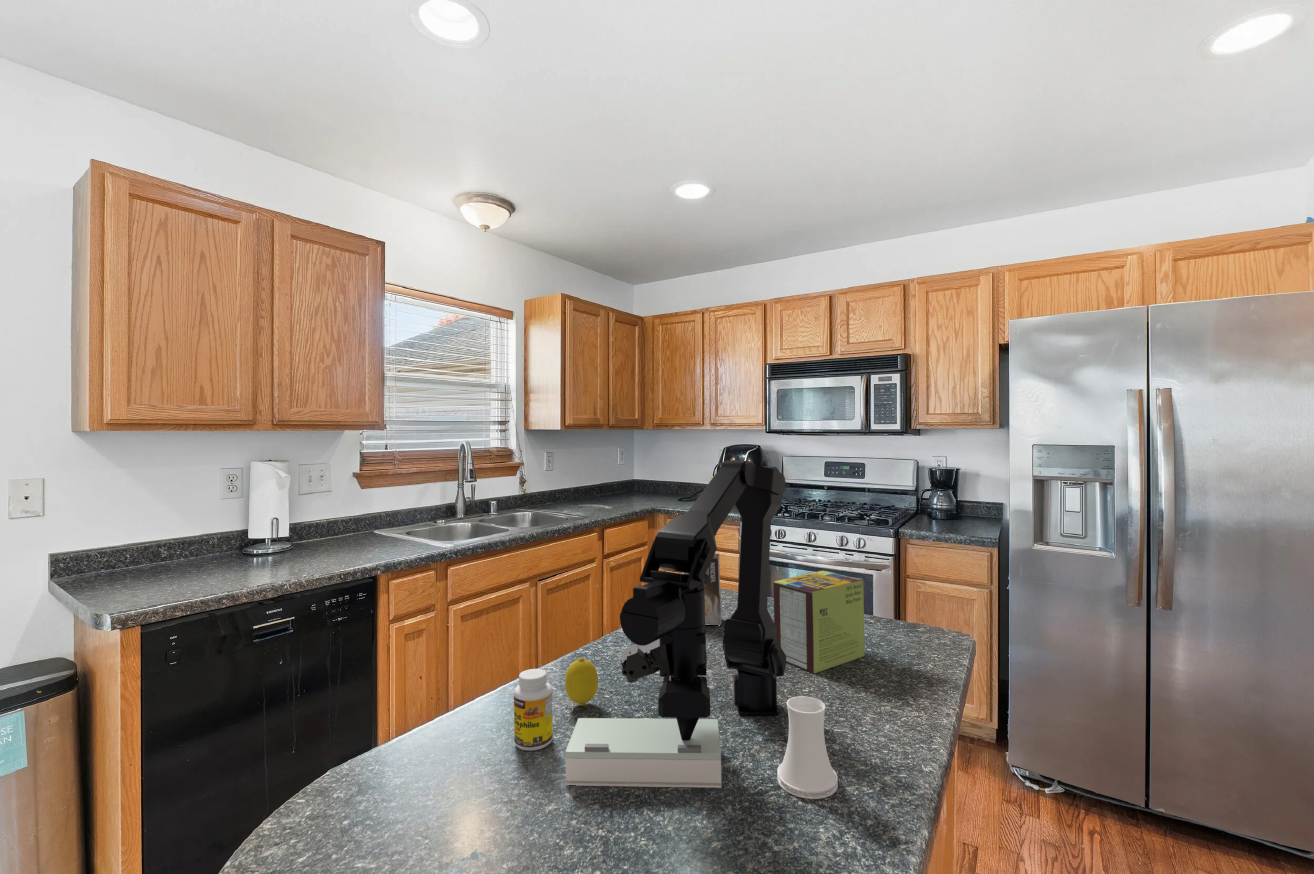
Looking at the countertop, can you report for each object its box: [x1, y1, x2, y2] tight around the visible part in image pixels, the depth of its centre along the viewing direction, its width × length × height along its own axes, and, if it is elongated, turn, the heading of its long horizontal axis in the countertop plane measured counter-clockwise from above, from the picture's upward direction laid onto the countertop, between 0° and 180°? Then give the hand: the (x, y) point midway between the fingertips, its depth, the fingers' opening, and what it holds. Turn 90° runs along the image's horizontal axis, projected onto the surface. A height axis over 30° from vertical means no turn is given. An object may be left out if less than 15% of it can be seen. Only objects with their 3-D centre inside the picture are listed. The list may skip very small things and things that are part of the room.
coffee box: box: [680, 553, 722, 625], centre depth 142 cm, size 9×6×16 cm
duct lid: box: [564, 717, 722, 761], centre depth 80 cm, size 20×9×1 cm, turn 87°
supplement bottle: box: [513, 668, 554, 752], centre depth 87 cm, size 6×6×10 cm
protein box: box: [773, 570, 866, 675], centre depth 118 cm, size 10×15×16 cm
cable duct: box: [565, 758, 722, 789], centre depth 80 cm, size 20×9×4 cm, turn 87°
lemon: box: [564, 657, 599, 707], centre depth 99 cm, size 6×6×8 cm
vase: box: [776, 695, 839, 800], centre depth 76 cm, size 8×8×10 cm
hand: (685, 739), depth 79 cm, fingers closed, pressing on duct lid
